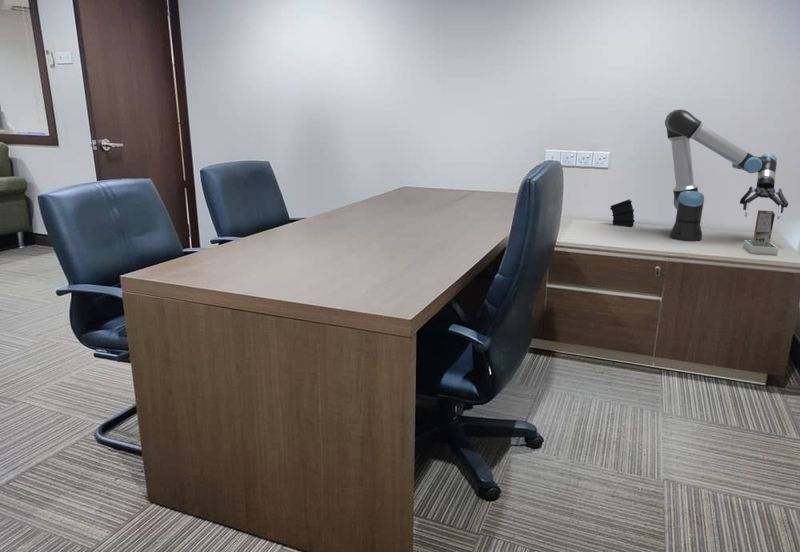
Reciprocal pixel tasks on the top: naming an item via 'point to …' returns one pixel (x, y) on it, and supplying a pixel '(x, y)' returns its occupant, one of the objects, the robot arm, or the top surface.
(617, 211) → the black ridged block
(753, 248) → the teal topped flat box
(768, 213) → the coffee box
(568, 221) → the top surface
